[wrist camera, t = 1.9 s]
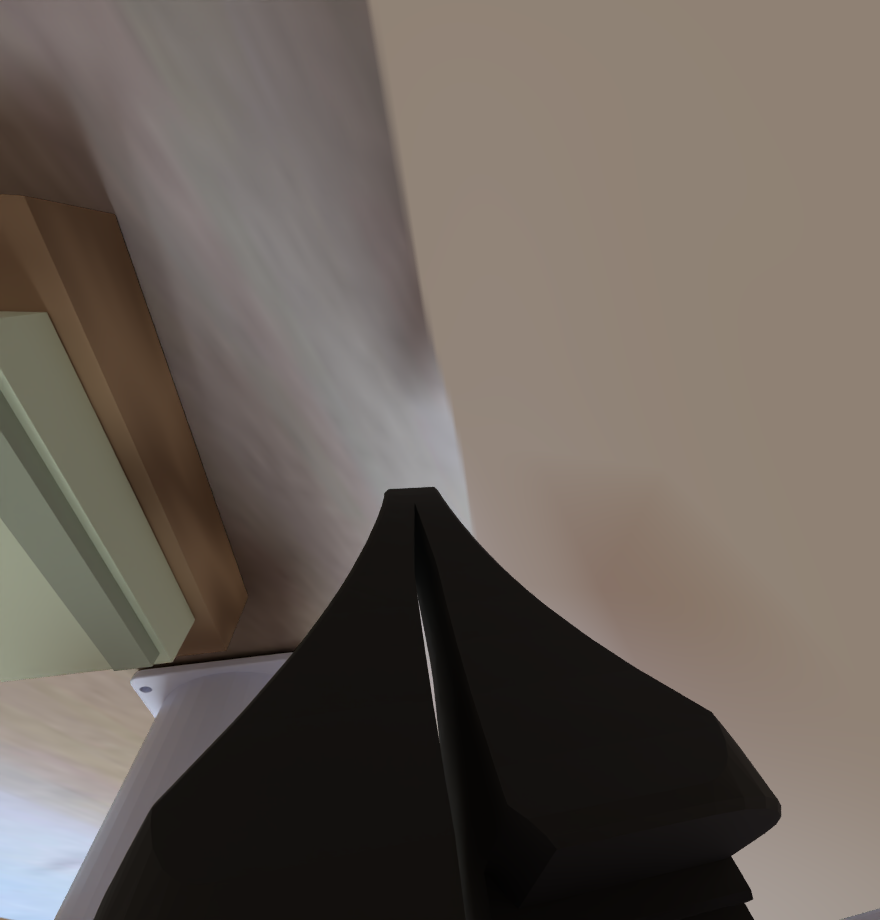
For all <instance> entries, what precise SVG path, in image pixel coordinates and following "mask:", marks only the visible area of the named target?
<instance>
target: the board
mask: <svg viewBox="0 0 880 920" xmlns="http://www.w3.org/2000/svg"><path fill="white" fill-rule="evenodd" d="M0 311H10V312H47V314H48V316H49V318H50V320H51V322H52V324H53V326H54V329H55V331H56V333H57V335H58V337H59V339H60V341H61V343H62V345H63V347H64V349H65V351H66V353H67V355H68V358H69V360H70V362H71V364H72V366H73V368H74V370H75V372H76V374H77V376H78V378H79V380H80V382H81V384H82V387H83V389H84V391H85V393H86V395H87V397H88V399H89V401H90V403H91V405H92V407H93V409H94V411H95V413H96V416H97V418H98V420H99V422H100V424H101V426H102V428H103V430H104V432H105V434H106V436H107V438H108V440H109V442H110V444H111V447H112V449H113V451H114V453H115V455H116V457H117V459H118V461H119V463H120V465H121V467H122V469H123V471H124V473H125V476H126V478H127V480H128V482H129V484H130V486H131V488H132V490H133V492H134V494H135V496H136V498H137V500H138V502H139V505H140V507H141V509H142V511H143V513H144V515H145V517H146V519H147V521H148V523H149V525H150V527H151V529H152V531H153V534H154V536H155V538H156V540H157V542H158V544H159V546H160V548H161V550H162V552H163V554H164V556H165V558H166V560H167V563H168V565H169V567H170V569H171V571H172V573H173V575H174V577H175V579H176V581H177V583H178V585H179V587H180V589H181V592H182V594H183V596H184V598H185V600H186V602H187V604H188V606H189V608H190V610H191V612H192V614H193V616H194V618H195V621H194V623H193V625H192V627H191V628H190V630H189V632H188V634H187V636H186V638H185V640H184V642H183V643H182V645H181V647H180V649H179V651H178V653H177V655H176V657H177V656H186V655H194V654H203V653H212V652H221V651H226V650H227V648H228V645H229V643H230V640H231V638H232V635H233V633H234V630H235V628H236V626H237V623H238V621H239V618H240V616H241V613H242V611H243V608H244V606H245V603H246V601H247V598H248V595H247V592H246V589H245V586H244V584H243V581H242V578H241V575H240V572H239V569H238V566H237V563H236V561H235V558H234V555H233V552H232V549H231V546H230V543H229V540H228V538H227V535H226V532H225V529H224V526H223V523H222V520H221V518H220V515H219V512H218V509H217V506H216V503H215V500H214V497H213V495H212V492H211V489H210V486H209V483H208V480H207V477H206V475H205V472H204V469H203V466H202V463H201V460H200V457H199V454H198V452H197V449H196V446H195V443H194V440H193V437H192V434H191V432H190V429H189V426H188V423H187V420H186V417H185V414H184V411H183V409H182V406H181V403H180V400H179V397H178V394H177V391H176V389H175V386H174V383H173V380H172V377H171V374H170V371H169V368H168V366H167V363H166V360H165V357H164V354H163V351H162V348H161V346H160V343H159V340H158V337H157V334H156V331H155V328H154V325H153V323H152V320H151V317H150V314H149V311H148V308H147V305H146V303H145V300H144V297H143V294H142V291H141V288H140V285H139V282H138V280H137V277H136V274H135V271H134V268H133V265H132V262H131V259H130V257H129V254H128V251H127V248H126V245H125V242H124V239H123V237H122V234H121V231H120V228H119V225H118V222H117V219H116V216H115V214H111V213H106V212H101V211H96V210H91V209H87V208H82V207H77V206H72V205H67V204H62V203H57V202H52V201H48V200H43V199H38V198H33V197H28V196H22V195H6V194H0Z"/></svg>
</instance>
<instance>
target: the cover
mask: <svg viewBox="0 0 880 920" xmlns="http://www.w3.org/2000/svg"><path fill="white" fill-rule="evenodd" d="M194 621H195V618H194V616H193V614H192V612H191V610H190V608H189V606H188V604H187V602H186V600H185V598H184V596H183V594H182V592H181V589H180V587H179V585H178V583H177V581H176V579H175V577H174V575H173V573H172V571H171V569H170V567H169V565H168V563H167V560H166V558H165V556H164V554H163V552H162V550H161V548H160V546H159V544H158V542H157V540H156V538H155V536H154V534H153V531H152V529H151V527H150V525H149V523H148V521H147V519H146V517H145V515H144V513H143V511H142V509H141V507H140V505H139V502H138V500H137V498H136V496H135V494H134V492H133V490H132V488H131V486H130V484H129V482H128V480H127V478H126V476H125V473H124V471H123V469H122V467H121V465H120V463H119V461H118V459H117V457H116V455H115V453H114V451H113V449H112V447H111V444H110V442H109V440H108V438H107V436H106V434H105V432H104V430H103V428H102V426H101V424H100V422H99V420H98V418H97V416H96V413H95V411H94V409H93V407H92V405H91V403H90V401H89V399H88V397H87V395H86V393H85V391H84V389H83V387H82V384H81V382H80V380H79V378H78V376H77V374H76V372H75V370H74V368H73V366H72V364H71V362H70V360H69V358H68V355H67V353H66V351H65V349H64V347H63V345H62V343H61V341H60V339H59V337H58V335H57V333H56V331H55V329H54V326H53V324H52V322H51V320H50V318H49V316H48V314H47V312H10V311H0V682H6V681H15V680H23V679H32V678H40V677H49V676H58V675H66V674H75V673H83V672H92V671H101V670H109V669H113V670H114V671H118V670H127V669H135V668H144V667H152V666H153V664H161V663H169V662H173V660H174V659H175V657H176V655H177V653H178V651H179V649H180V647H181V645H182V643H183V642H184V640H185V638H186V636H187V634H188V632H189V630H190V628H191V627H192V625H193V623H194Z"/></svg>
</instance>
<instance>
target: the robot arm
mask: <svg viewBox="0 0 880 920" xmlns="http://www.w3.org/2000/svg"><path fill="white" fill-rule="evenodd" d="M417 595H418V596H417ZM418 600H419V604H418ZM419 605H420V610H421V616H422V621H423V626H424V631H425V636H426V642H427V647H428V652H429V657H430V663H431V669H432V676H433V683H434V693H435V702H436V712H437V721H438V731H439V737H438V731H437V724H436V718H435V712H434V706H433V700H432V693H431V687H430V680H429V673H428V667H427V660H426V654H425V647H424V640H423V633H422V626H421V618H420V611H419ZM130 684H131V686H132V687H133V688H134V690H135V691H136V692H137V694H138V695H139V697H140V698H141V699H142V701H143V702H144V703H145V705H146V706H147V708H148V709H149V710H150V712H151V713H152V714H153V716H154V717H155V720H154V722H153V724H152V726H151V728H150V730H149V732H148V734H147V736H146V738H145V740H144V742H143V744H142V746H141V748H140V750H139V752H138V754H137V756H136V758H135V760H134V762H133V764H132V766H131V768H130V770H129V772H128V774H127V776H126V778H125V780H124V782H123V784H122V786H121V788H120V790H119V792H118V794H117V796H116V798H115V800H114V802H113V804H112V806H111V808H110V810H109V812H108V814H107V816H106V818H105V820H104V822H103V824H102V825H101V827H100V829H99V831H98V833H97V835H96V837H95V839H94V841H93V843H92V845H91V847H90V849H89V851H88V853H87V855H86V857H85V859H84V861H83V863H82V865H81V867H80V869H79V871H78V873H77V875H76V877H75V879H74V881H73V883H72V885H71V887H70V889H69V891H68V893H67V895H66V897H65V899H64V901H63V903H62V905H61V907H60V909H59V911H58V913H57V915H56V917H55V919H54V920H754V919H753V917H752V915H751V914H750V912H749V910H748V908H747V907H746V905H745V904H744V903H745V902H748V901H750V900H752V899H753V897H752V893H751V889H750V888H749V886H748V884H747V882H746V881H745V879H744V877H743V875H742V874H741V872H740V870H739V869H738V867H737V865H736V864H735V862H734V860H733V859H732V857H731V856H732V855H733V854H735V853H736V852H738V851H739V850H741V849H742V848H744V847H745V846H747V845H748V844H750V843H751V842H753V841H754V840H756V839H757V838H758V837H760V836H761V835H763V834H765V833H766V832H767V831H768V830H770V829H771V828H772V827H773V826H775V825H776V824H777V822H778V821H779V819H780V817H781V805H780V803H779V801H778V799H777V798H776V797H775V795H774V794H773V792H772V791H771V790H770V788H769V787H768V786H767V784H766V783H765V781H764V780H763V779H762V777H761V776H760V775H759V773H758V772H757V770H756V769H755V768H754V766H753V765H752V764H751V762H750V761H749V759H748V758H747V757H746V755H745V754H744V753H743V751H742V750H741V748H740V747H739V746H738V745H737V743H736V742H735V741H734V739H733V738H732V737H731V736H730V734H729V733H728V732H727V731H726V729H725V728H724V727H723V726H722V724H721V723H720V722H719V721H718V720H717V718H716V717H715V716H714V715H713V713H712V712H710V711H709V710H707V709H705V708H704V707H702V706H700V705H698V704H697V703H695V702H693V701H691V700H690V699H688V698H686V697H685V696H683V695H681V694H680V693H678V692H676V691H675V690H673V689H671V688H669V687H668V686H666V685H664V684H663V683H661V682H659V681H657V680H656V679H654V678H652V677H651V676H649V675H647V674H645V673H644V672H642V671H640V670H639V669H637V668H635V667H634V666H632V665H630V664H629V663H627V662H625V661H624V660H623V659H621V658H620V657H618V656H617V655H615V654H614V653H612V652H611V651H609V650H607V649H606V648H605V647H603V646H601V645H600V644H598V643H597V642H595V641H594V640H592V639H591V638H590V637H588V636H587V635H585V634H584V633H582V632H581V631H580V630H578V629H577V628H576V627H574V626H573V625H571V624H570V623H569V622H568V621H566V620H565V619H563V618H562V617H561V616H559V615H558V614H557V613H555V612H554V611H553V610H551V609H550V608H548V607H547V606H546V605H545V604H543V603H542V602H541V601H540V600H539V599H537V598H536V597H535V596H534V595H533V594H531V593H530V592H529V591H528V590H526V589H525V588H524V587H523V586H522V585H521V584H520V583H519V582H518V581H516V580H515V579H514V578H513V577H512V576H511V575H510V574H509V573H508V572H507V571H505V570H504V569H503V568H502V567H501V566H500V565H499V564H498V563H497V562H496V561H495V560H494V559H493V558H492V557H491V556H490V555H489V554H488V552H487V551H486V550H485V549H484V548H483V547H482V546H481V545H480V544H479V543H478V542H477V541H476V539H475V538H474V537H473V536H472V535H471V534H470V532H469V531H468V530H467V529H466V528H465V527H464V525H463V524H462V523H461V522H460V521H459V519H458V518H457V517H456V515H455V514H454V513H453V511H452V510H451V509H450V508H449V506H448V505H447V503H446V502H445V501H444V499H443V498H442V496H441V495H440V493H439V492H438V490H437V489H436V488H435V487H423V488H404V489H388V490H387V491H386V492H385V493H384V499H383V503H382V507H381V510H380V512H379V515H378V518H377V520H376V523H375V525H374V527H373V529H372V531H371V533H370V536H369V538H368V540H367V542H366V544H365V546H364V548H363V550H362V552H361V553H360V555H359V557H358V559H357V561H356V562H355V564H354V566H353V568H352V570H351V571H350V573H349V575H348V576H347V578H346V580H345V581H344V583H343V584H342V586H341V588H340V589H339V591H338V592H337V594H336V595H335V597H334V598H333V600H332V601H331V603H330V604H329V606H328V607H327V608H326V610H325V611H324V613H323V614H322V615H321V617H320V618H319V619H318V621H317V622H316V623H315V625H314V626H313V627H312V629H311V630H310V631H309V633H308V634H307V635H306V637H305V638H304V639H303V641H302V642H301V643H300V644H299V646H298V647H297V648H296V650H295V651H294V652H289V653H281V654H272V655H264V656H255V657H247V658H238V659H230V660H221V661H213V662H204V663H196V664H187V665H179V666H170V667H162V668H153V669H145V670H140V671H137V672H136V673H135V674H134V676H133V677H132V679H131V681H130ZM439 741H440V743H439ZM841 920H880V908H879V909H876V910H872V911H869V912H866V913H862V914H858V915H855V916H851V917H848V918H844V919H841Z"/></svg>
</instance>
